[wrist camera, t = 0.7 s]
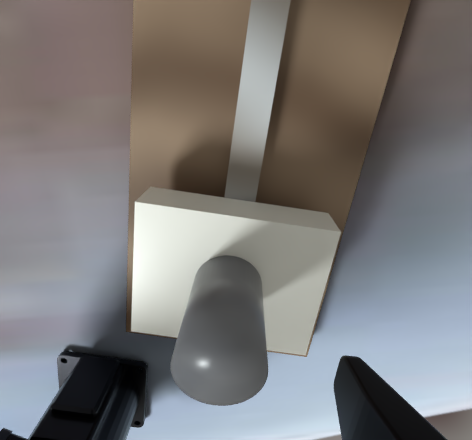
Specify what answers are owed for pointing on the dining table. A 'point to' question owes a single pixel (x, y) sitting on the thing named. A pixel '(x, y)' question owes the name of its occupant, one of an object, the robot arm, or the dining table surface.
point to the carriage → (227, 285)
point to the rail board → (257, 101)
